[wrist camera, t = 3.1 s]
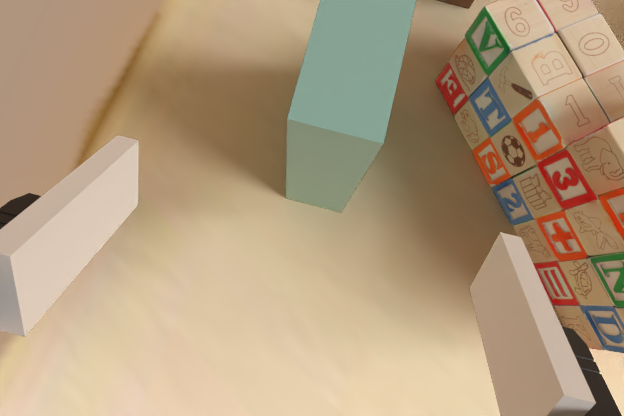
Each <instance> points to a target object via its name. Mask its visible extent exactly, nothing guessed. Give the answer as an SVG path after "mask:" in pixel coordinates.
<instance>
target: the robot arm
mask: <svg viewBox="0 0 624 416" xmlns="http://www.w3.org/2000/svg"><path fill="white" fill-rule="evenodd" d="M138 170H139V140H135V139H131V138H127V137H123V136H119V135H117V136H116V137H114V138H113V139H112V140H111V141H109V142H108V143H107V144H106V145H104V146H103V147H102V148H101V149H100V150H98V151H97V152H96V153H95V154H93V155H92V156H91V157H90V158H88V159H87V160H86V161H85V162H83V163H82V164H81V165H80V166H78V167H77V168H76V169H75V170H73V171H72V172H71V173H70V174H69V175H67V176H66V177H65V178H64V179H62V180H61V181H60V182H59V183H57V184H56V185H55V186H54V187H52V188H51V189H50V190H49V191H47V192H46V193H45V194H44V195H42V196H38V195H34V194H30V193H29V194H26V195H24V196H21V197H18V198H16V199H13V200H11V201H9V202H8V203H7V204H5V205H4V206H3V207H1V208H0V331H4V332H9V333H13V334H17V335H21V336H26V335H27V334H28V333H29V331H30V330H31V329H32V328H33V327H34V326H35V325H36V323H37V322H38V321H39V320H40V319H41V318H42V316H43V315H44V314H45V313H46V312H47V311H48V309H49V308H50V307H51V306H52V305H53V304H54V302H55V301H56V300H57V299H58V298H59V297H60V295H61V294H62V293H63V292H64V291H65V290H66V288H67V287H68V286H69V285H70V284H71V283H72V281H73V280H74V279H75V278H76V277H77V276H78V274H79V273H80V272H81V271H82V270H83V269H84V267H85V266H86V265H87V264H88V263H89V262H90V260H91V259H92V258H93V257H94V256H95V255H96V253H97V252H98V251H99V250H100V249H101V248H102V246H103V245H104V244H105V243H106V242H107V241H108V239H109V238H110V237H111V236H112V235H113V234H114V232H115V231H116V230H117V229H118V228H119V227H120V225H121V224H122V223H123V222H124V221H125V220H126V218H127V217H128V216H129V215H130V214H131V213H132V211H133V210H134V209H135V208H136V207H137V206H138ZM469 289H470V293H471V297H472V301H473V305H474V309H475V313H476V317H477V321H478V326H479V330H480V334H481V338H482V342H483V346H484V350H485V354H486V358H487V362H488V366H489V370H490V374H491V378H492V382H493V386H494V390H495V395H496V399H497V403H498V407H499V411H500V415H501V416H622V415H621V413H620V411H619V409H618V407H617V405H616V403H615V401H614V399H613V397H612V395H611V393H610V391H609V389H608V387H607V385H606V383H605V381H604V379H603V377H602V375H601V374H599V372H600V371H599V369H598V367H597V365H596V363H595V362H593V360H594V359H593V357H592V354H591V352H590V350H589V348H588V346H587V344H586V343H585V342H584V341H583V340H582V339H581V337H580V336H579V335H578V334H577V333H576V332H575V331H574V329H571V328H567V327H563V326H561V324H560V322H559V320H558V318H557V315H556V313H555V311H554V309H553V307H552V304H551V302H550V300H549V298H548V296H547V293H546V291H545V289H544V287H543V284H542V282H541V280H540V278H539V276H538V273H537V271H536V269H535V267H534V265H533V262H532V260H531V258H530V256H529V253H528V251H527V249H526V247H525V245H524V242H523V240H522V238H521V237H518V236H514V235H510V234H506V233H502V232H500V233H499V235H498V237H497V239H496V241H495V243H494V244H493V246H492V248H491V250H490V252H489V253H488V255H487V257H486V259H485V261H484V263H483V264H482V266H481V268H480V270H479V272H478V274H477V275H476V277H475V279H474V281H473V283H472V284H471V286H470V288H469Z"/></svg>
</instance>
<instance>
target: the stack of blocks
mask: <svg viewBox="0 0 624 416" xmlns="http://www.w3.org/2000/svg"><path fill="white" fill-rule="evenodd" d="M435 82H436V84H437V86H438V87H439V89H440V91H441V93H442V94H443V96H444V98H445V100H446V102H447V104H448V106H449V107H450V109H451V111H452V113H453V114H454V119H455V121H456V123H457V125H458V127H459V129H460V131H461V132H462V134H463V136H464V138H465V140H466V142H467V144H468V145H469V147H470V149H471V150H472V152H473V155H474V157H475V159H476V161H477V163H478V165H479V166H480V168H481V170H482V172H483V174H484V176H485V178H486V180H487V182H488V184H489V186H490V187H492V188H493V191H494V193H495V195H496V197H497V199H498V200H499V202H500V204H501V206H502V208H503V210H504V212H505V214H506V216H507V217H508V219H509V221H510V223H511V224H512V225H513V228H514V230H515V232H516V234H517V236H518V237H521V238H522V240H523V242H524V245H525V247H526V249H527V251H528V253H529V256H530V258H531V260H532V262H533V265H534V267H535V269H536V271H537V273H538V276H539V278H540V280H541V282H542V284H543V287H544V289H545V290H546V292H547V294H548V296H549V298H550V300H551V302H552V304H553V305H554V308H555V310H556V312H557V314H558V316H559V318H560V320H561V322H562V324H563V325H564V327H567V328H571V329H574V331H575V332H576V333H577V334H578V335H579V336H580V337H581V339H582V340H583V341H584V342H585V343H586V344H587V346H588V348H591V349H598V350H609V351H614V352H621V353H624V50H623V48H622V46H621V45H620V43H619V42H618V40H617V38H616V37H615V35H614V34H613V32H612V30H611V29H610V27H609V25H608V24H607V22H606V21H605V19H604V17H603V16H602V15H601V14H600V13H598V11H597V8H596V7H595V5H594V4H593V2H592V0H498V1H496V2H493V3H491V4H488V5H486V6H485V7H484V8H483V9H482V10H481V12H480V13H479V15H478V16H477V18H476V19H475V21H474V22H473V24H472V25H471V27H470V28H469V30H468V31H467V32H466V34H465V38H464V40H463V41H462V42H461V43H460V45H459V46H458V48H457V49H456V50H455V52H454V53H453V55H452V56H451V58H450V59H449V62H448V63H447V65H446V66H445V68H444V69H443V70H442V72H441V73H440V74H439V76H438V77H437V79H436V81H435Z"/></svg>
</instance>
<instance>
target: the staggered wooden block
mask: <svg viewBox="0 0 624 416" xmlns="http://www.w3.org/2000/svg"><path fill="white" fill-rule="evenodd" d="M439 1H443V2H447V3H450V4H454V5H458V6H462V7H466V8H470V6H471V4H472V3H473V1H474V0H439Z"/></svg>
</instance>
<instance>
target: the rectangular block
mask: <svg viewBox="0 0 624 416" xmlns="http://www.w3.org/2000/svg"><path fill="white" fill-rule="evenodd" d="M415 4H416V0H320V3H319V7H318V10H317V14H316V17H315V21H314V25H313V28H312V32H311V35H310V39H309V42H308V46H307V49H306V53H305V57H304V60H303V64H302V67H301V71H300V74H299V78H298V81H297V85H296V88H295V92H294V96H293V99H292V103H291V106H290V110H289V113H288V117H287V152H286V198H287V199H291V200H295V201H298V202H302V203H306V204H310V205H314V206H318V207H322V208H326V209H329V210H333V211H337V212H342V210H343V209H344V207H345V206H346V204H347V202H348V201H349V199H350V198H351V196H352V194H353V193H354V191H355V189H356V188H357V186H358V185H359V183H360V181H361V180H362V178H363V176H364V175H365V173H366V172H367V170H368V168H369V167H370V165H371V163H372V162H373V160H374V159H375V157H376V155H377V154H378V152H379V150H380V149H381V147H382V146H383V144H384V140H385V135H386V131H387V127H388V122H389V118H390V114H391V109H392V105H393V100H394V96H395V92H396V87H397V83H398V79H399V74H400V70H401V65H402V61H403V57H404V52H405V48H406V44H407V39H408V35H409V30H410V26H411V22H412V17H413V13H414V8H415Z"/></svg>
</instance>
